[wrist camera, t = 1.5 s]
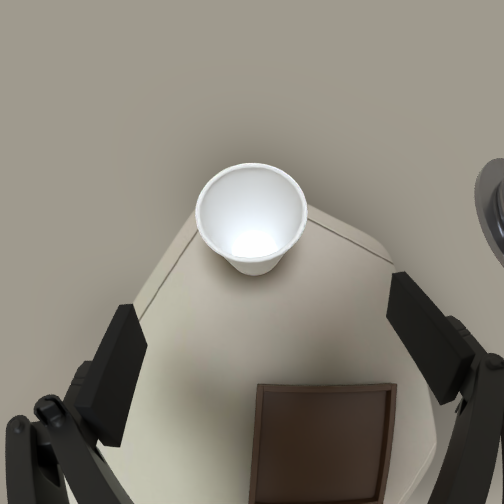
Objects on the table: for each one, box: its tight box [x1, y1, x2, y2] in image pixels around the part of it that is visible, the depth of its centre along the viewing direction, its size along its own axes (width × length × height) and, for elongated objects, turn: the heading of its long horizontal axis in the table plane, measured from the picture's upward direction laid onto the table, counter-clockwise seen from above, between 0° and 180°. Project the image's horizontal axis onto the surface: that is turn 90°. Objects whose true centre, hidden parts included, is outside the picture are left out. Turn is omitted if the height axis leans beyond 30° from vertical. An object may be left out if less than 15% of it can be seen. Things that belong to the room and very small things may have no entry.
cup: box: [195, 163, 308, 276], centre depth 33 cm, size 10×10×11 cm
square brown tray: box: [248, 383, 397, 504], centre depth 29 cm, size 15×15×2 cm
